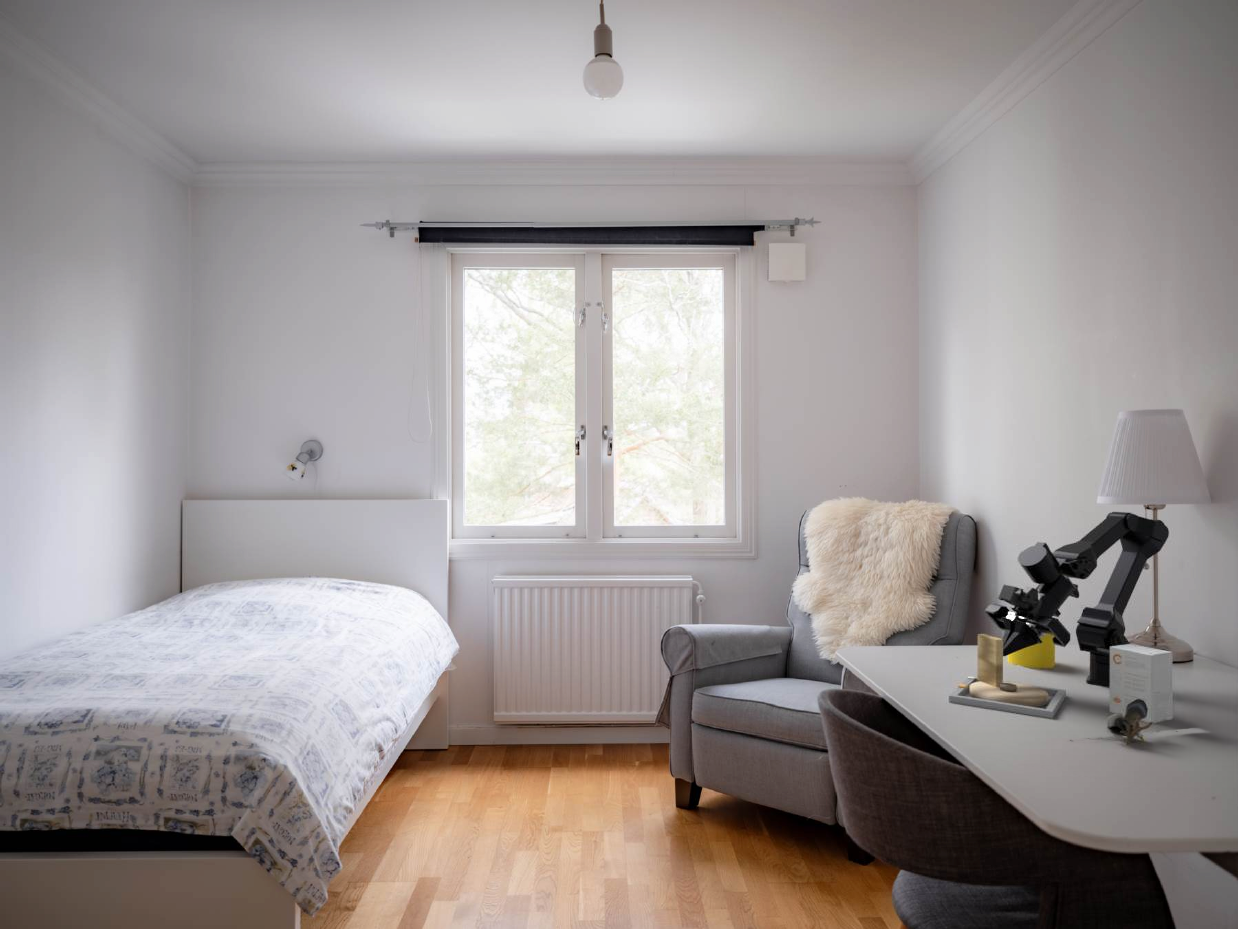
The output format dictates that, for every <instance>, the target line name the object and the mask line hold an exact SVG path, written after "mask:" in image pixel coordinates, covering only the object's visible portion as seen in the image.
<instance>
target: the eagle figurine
mask: <svg viewBox="0 0 1238 929" xmlns="http://www.w3.org/2000/svg"><path fill="white" fill-rule="evenodd" d="M1147 710H1148V708H1147V705H1146V703H1145V702H1144V700H1141V699H1136V700H1135V701H1133V702H1131V703H1129V704H1128V705H1127V707H1126V712H1125V716H1123V715H1121V713H1113V714H1112V715H1110V716H1108V717H1107V719H1106V725H1107V729H1108V728H1110V729H1111V728H1118V729H1121V730H1120V733H1122V734H1124V736H1126V742H1125V743H1126V744H1125V745H1126V746H1129V744H1130V743H1131V742H1133V740H1134V739H1135V737H1136V738H1138V739H1140V740H1141V741H1143V742H1145V741H1146V740H1145V739H1144V735H1143V734H1142V732H1141V731H1143V730H1147V729H1149V728H1150V727H1151V726H1152V725H1153V724H1154V723H1153V722H1150V723H1148V722H1147V724H1144V725H1142V726H1140V723H1139V722H1141V719H1144V718H1146V717H1147Z"/></svg>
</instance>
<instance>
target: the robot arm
mask: <svg viewBox="0 0 1238 929" xmlns="http://www.w3.org/2000/svg"><path fill="white" fill-rule="evenodd" d="M1169 531H1170V530H1169V528H1168V526H1167V525H1166V524H1165V522H1163V521H1162V520H1161V519H1152V518H1151V519H1150V518H1147V517H1144V516H1143V517H1142V516H1139V515H1137V514H1134V513H1133V512H1129V511H1128V512H1127V511H1126V512H1124V511H1112V512H1109V513H1108V514H1107V515H1106V518H1104V520H1102V521H1101V522H1100V523H1099V524H1098V525H1096V526H1095V527H1094V528H1093V529H1092V530H1090V531H1089V532H1088V533H1087V534H1086V535H1084V536H1083V537H1082V538H1081V539H1080V540H1078V541H1075V542H1074V543H1073V542H1072V543H1069V544H1065V545H1063V546H1061V547H1058V548H1057V549H1055V550H1054V551H1051V549H1050V547H1049V545H1048V544H1047V542H1041V541H1040V542H1039V541H1037V542H1036V543H1035V544H1034V545H1033V546H1029V547H1027V548H1026V549H1024V550H1023V551H1020V553H1019V554H1018V557H1017V562H1018V564H1019V565H1020V566H1021V567H1022V569H1023V571H1024V572H1025V573H1026V575H1027V576H1028V577H1029V578H1030V580H1031V581H1032V582H1033V583H1034V584H1038V585H1036V588H1034V587H1030V586H1025V588H1020V587H1018V586H1013V585H1008V584H1003V585H1002V587H1001V590H1000V592H999V595H998V600H999V601H1003V602H1005V603H1008V604H1009V605H1010V607H1009V608H1010V609H1011V610H1012V611H1013V612H1012V611H1010V609H1009V608H1008V607H1007V606H1005V605H1001V604H998V603H990V604H989V605H988V606H987V607H986V608H985V610H984V613H986V615H987V616H988V618H990V620H992V622H993V623H994V624H995V625H996V627H997V628H999V629H1000V630H1001V631H1004V633H1003V637H1002V639H1003V657H1008V655H1009V654H1012V653H1014V652H1016V651H1019V650H1021V649H1024V648H1026V647H1029V646H1032V645H1035V644H1038V643H1039V644H1041V643H1042V641H1041V638H1042V637H1043V635H1046V634H1051V635H1054V638H1053V643H1054V644H1055V646H1059V647H1062V648H1066V646H1067V645H1068V644H1069V643H1070V642H1071V632H1069V631H1068V629H1067V628H1066V626H1065V625H1064V624H1063V623H1062V622H1061V621H1060V620H1059V617H1060V616H1061V615H1062V614H1061V613H1062V612H1060V611H1059V610H1060V608H1061V606H1063V605H1064V603H1065V602H1066V600H1068V598H1069V597H1072V598H1075V599H1079V598H1080V592H1079V585H1078V584H1077V583H1073V582H1072V580H1071V579H1077V580H1086V579H1088V578H1089V577H1090V576H1091V575H1092V573H1093V572H1094V571H1095V570H1096V569H1097V567H1098V559H1099V558H1100V557H1101V556H1102V555H1103V554H1104V553H1106V552H1107V551H1108V550H1109V549H1110V548H1112V547H1113V546H1114V544H1116V543H1117V542H1118V541H1120V545H1121V549H1122V550H1121V553H1120V554H1119V558H1118V560H1117V561H1116V563H1115V566H1114V569H1113V570H1112V573H1111V575H1110V576H1109V579H1108V581H1107V583H1106V585H1105V588H1104V590H1103V592H1102V594H1101V597H1100V599H1099V600H1098V603H1097V605H1096V606H1094V607H1091V606H1085V607H1084V608H1083V610H1082V612H1081V616H1080V617H1079V619H1078V620H1077V621H1076V623H1077V626H1076V628H1075V635H1076V640H1077V643H1078V648H1079V651H1081V652H1088V653H1089V675H1088V676H1087V678H1086V680H1085V683H1088V684H1094V685H1101V686H1108V687H1110V646H1118V645H1126V644H1131V643H1130V641H1129V640H1128V638H1127V637H1126V636H1125V633H1126V625H1125V621H1124V618H1123V615H1124V613H1125V610H1126V608H1127V606H1128V603H1129V601H1130V599H1131V597H1132V594H1133V593H1134V590H1135V587H1136V586H1137V583H1138V581H1139V579H1140V577H1141V574H1142V572H1143V570H1144V567H1145V565H1146V564H1147V561H1148V560H1149V559H1150V558H1152V557H1153V556H1155V555H1156V554H1158V553H1159V552H1160V551H1161V550H1162V548H1163V547H1164V546H1165V543H1166V542H1167V540H1168V539H1169V534H1170V532H1169Z"/></svg>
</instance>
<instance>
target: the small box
mask: <svg viewBox="0 0 1238 929" xmlns="http://www.w3.org/2000/svg"><path fill="white" fill-rule="evenodd" d="M1173 690H1174V689H1173V652H1172V651H1169V650H1168V651H1167V650H1163V649H1158V648H1153V647H1148V646H1142V645H1137V644H1133V643H1130V644H1126V645H1118V646H1110V686H1109V713H1113V714H1116V713H1121V715H1122V717H1124V716H1125V712H1126V707H1127V705H1128V704H1129V703H1131V702H1133V701H1135V700H1136V699H1141V700H1144V702H1145V703H1146V705H1147V708H1148V710H1147V717H1146V718H1144V719H1141V720H1140V722H1141V721H1142V722H1144V723H1147V724H1148V723H1150V722H1153V724H1155V723H1160V722H1165V721H1166V722H1167V721H1170V720H1173V719H1174V718H1173V717H1174V716H1173V698H1174V697H1173V693H1174V692H1173Z"/></svg>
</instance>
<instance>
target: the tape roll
mask: <svg viewBox="0 0 1238 929" xmlns="http://www.w3.org/2000/svg"><path fill="white" fill-rule="evenodd" d="M1053 638H1054V635H1051V634H1046V635H1043V637H1042V638H1041V641H1042V643H1041V644H1039V643H1038V644H1035V645H1032V646H1029V647H1026V648H1024V649H1021V650H1019V651H1016V652H1014V653H1012V654H1009V655H1007V663H1008V664H1011V665H1013V666H1019V667H1020V666H1021V667H1023V668H1028V669H1040V668H1044V669H1052V668H1054V666H1056V645H1055V644H1054V643H1053Z"/></svg>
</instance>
